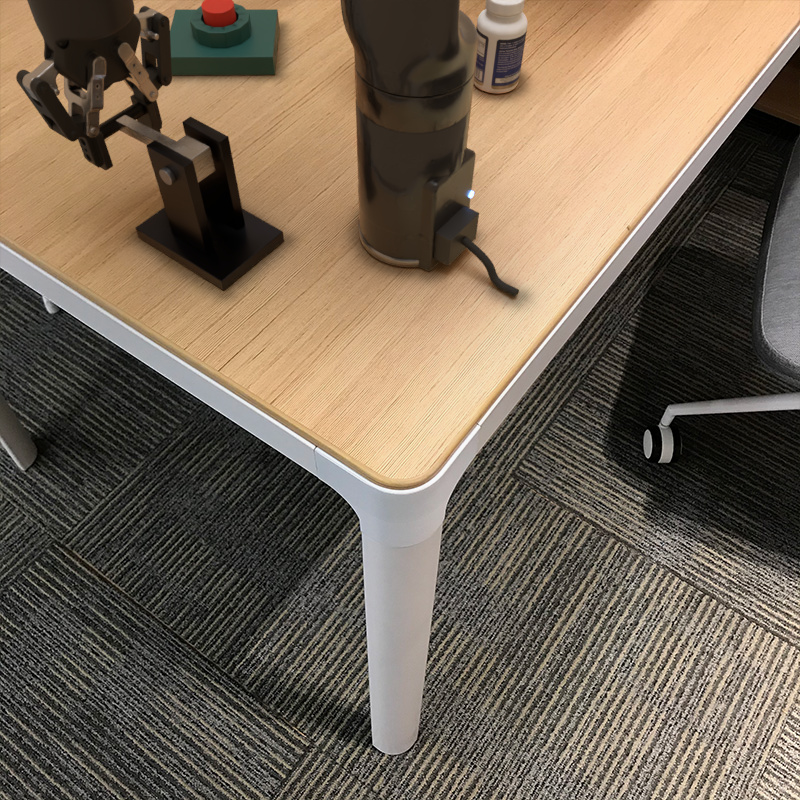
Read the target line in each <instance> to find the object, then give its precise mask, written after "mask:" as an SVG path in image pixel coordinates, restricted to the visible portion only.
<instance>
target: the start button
mask: <svg viewBox="0 0 800 800" xmlns="http://www.w3.org/2000/svg"><path fill="white" fill-rule="evenodd" d="M234 3H235V2H234V0H203V1H202V2H201V4H200V5H201V7H202V13H203V18H204V22H205V24H206V25H208V26H211V27H225V26H228V25H232V24H233V23H235V22H236V13H235V6H234Z"/></svg>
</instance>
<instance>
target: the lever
mask: <svg viewBox="0 0 800 800" xmlns="http://www.w3.org/2000/svg"><path fill="white" fill-rule="evenodd" d="M145 114H146V110H145V108H144V106H143V105H142V104H141V103H140V102H136V103H134V104H132V103H131V105H129V106H127V107H126V108H124V109H123V110H121V111H119V112H117V113H116V114H114V115H113V116H111V117H110V118H108V119H106V120H105V121H103V122H102V123H99V131H100V132H101V133H102V134H103V137H104V140H105V141H106V139H108V138H110V137H112V136H113V135H115V134H116V133H118V132H122V133H123V134H124V135H127V136H129V137H131V138H133V139H135V140H137V141H138V142H140V143H142V144H144V145H146V146H147V145H148V144H150V143H151V142H153V141H154V140H156V141H158V142H160V143H162V144H163V145H165V146H167V147H169V148H170V149H172V150H174V151H176V152H178V153H179V154H181V155H183V156H185V157H187V158H188V159H190V160H192V161H193V163H194V167H195V171H196V176H197V180H198V183H199V182H200V181H202V180H203V179H205V178H206V177H207V176H209V175H210V174H211V173H213V172H214V171H215V166H214V161H213V157H212V153H211V149H210V147H209V146H208V145H206V144H204V143H202V142H200V141H198V140H196V139H194V138H192V137H190V136H188V135H185V134H184V136H182V137H181V138H179V139H178V140H175V139H173V138H171V137H169V136H167V135H166V134H163V133H162V132H161V133H159V132H157V131H156V130H154V129H152V128H150V127H148V126H146V125H144V124H142V123H140V122H138V121H137V119H138V118H140V117H142V116H143V115H145Z"/></svg>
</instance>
